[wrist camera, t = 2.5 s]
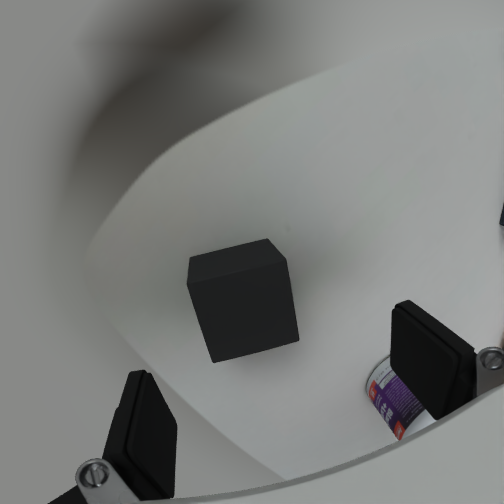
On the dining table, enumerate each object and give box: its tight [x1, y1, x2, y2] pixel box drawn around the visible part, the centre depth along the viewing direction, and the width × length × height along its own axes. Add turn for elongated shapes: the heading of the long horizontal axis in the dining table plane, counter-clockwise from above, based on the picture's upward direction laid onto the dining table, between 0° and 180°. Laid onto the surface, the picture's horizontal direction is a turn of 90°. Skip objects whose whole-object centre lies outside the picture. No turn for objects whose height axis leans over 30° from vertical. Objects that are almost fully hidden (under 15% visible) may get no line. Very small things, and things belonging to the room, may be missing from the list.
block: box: [187, 239, 299, 363], centre depth 16 cm, size 5×5×4 cm
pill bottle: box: [367, 357, 438, 440], centre depth 18 cm, size 5×5×10 cm
